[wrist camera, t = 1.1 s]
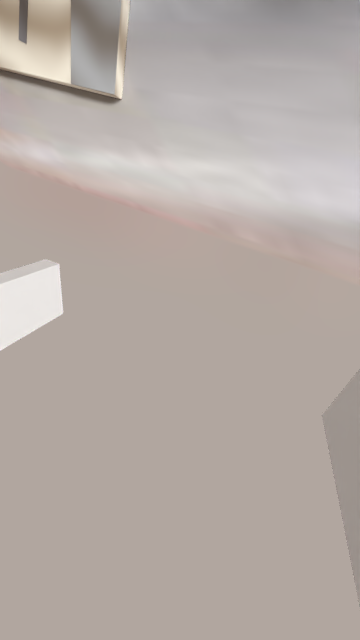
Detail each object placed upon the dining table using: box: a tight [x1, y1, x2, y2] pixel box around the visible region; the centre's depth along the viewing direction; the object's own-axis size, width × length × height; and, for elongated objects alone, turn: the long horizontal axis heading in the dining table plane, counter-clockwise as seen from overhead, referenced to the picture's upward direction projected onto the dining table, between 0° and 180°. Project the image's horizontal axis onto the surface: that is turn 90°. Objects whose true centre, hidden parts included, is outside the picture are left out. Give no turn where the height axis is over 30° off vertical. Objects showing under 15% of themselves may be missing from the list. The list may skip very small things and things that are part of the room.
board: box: [0, 0, 130, 99], centre depth 26 cm, size 10×24×2 cm, turn 75°
